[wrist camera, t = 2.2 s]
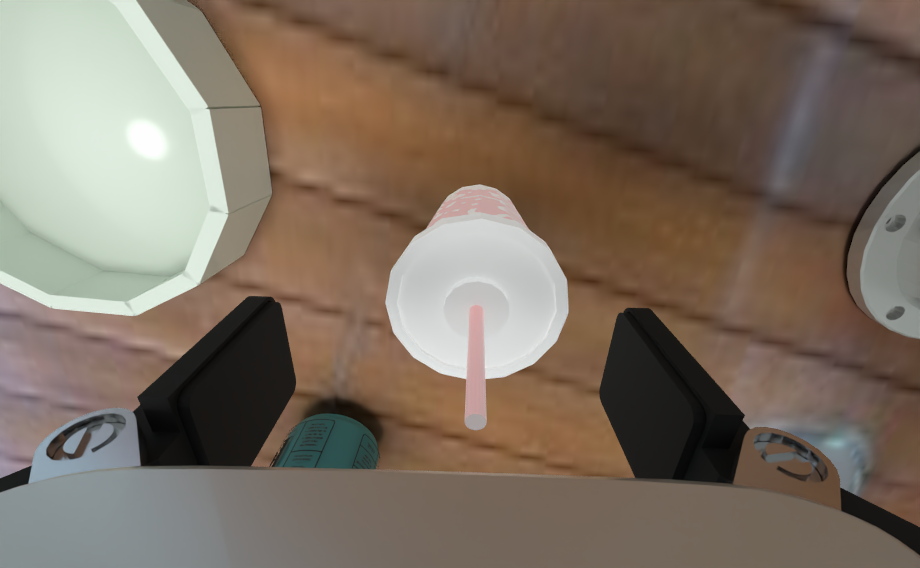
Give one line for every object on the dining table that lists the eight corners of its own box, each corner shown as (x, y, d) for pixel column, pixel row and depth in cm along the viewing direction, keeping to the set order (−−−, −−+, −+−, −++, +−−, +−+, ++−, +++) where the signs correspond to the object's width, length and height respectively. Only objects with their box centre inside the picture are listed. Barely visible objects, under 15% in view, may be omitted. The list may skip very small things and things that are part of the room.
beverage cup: (556, 230, 21) (678, 434, 8) (473, 297, 23) (467, 543, 10) (481, 142, 19) (489, 229, 6) (397, 223, 21) (277, 410, 8)
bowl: (-53, -169, 15) (-222, -254, 11) (319, 93, 18) (280, 92, 15) (-71, 177, 21) (-185, 193, 17) (211, 324, 24) (165, 363, 21)
